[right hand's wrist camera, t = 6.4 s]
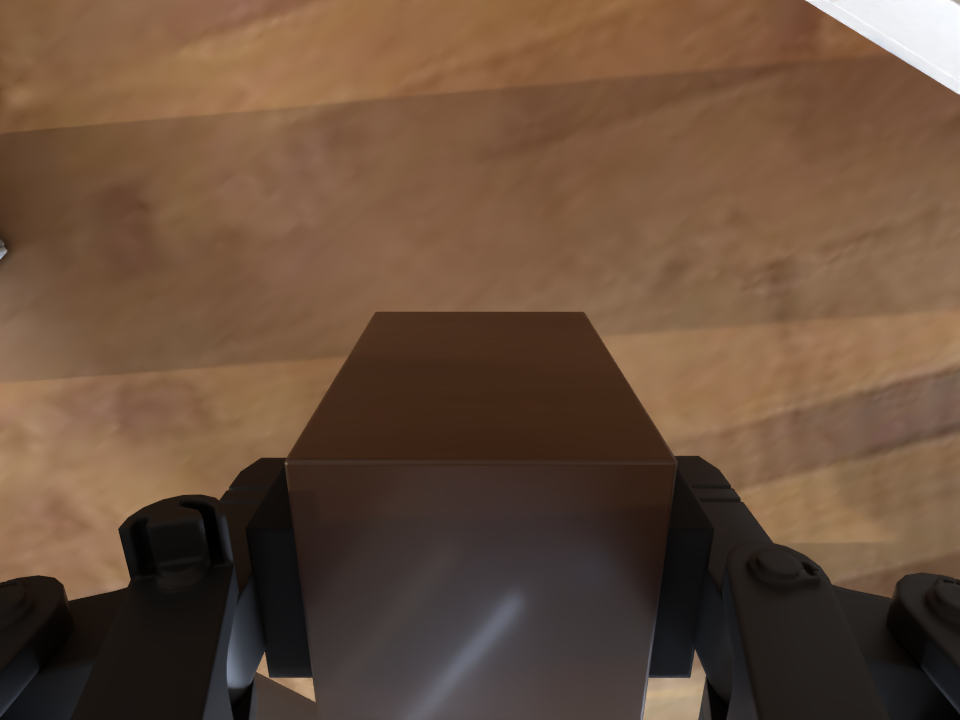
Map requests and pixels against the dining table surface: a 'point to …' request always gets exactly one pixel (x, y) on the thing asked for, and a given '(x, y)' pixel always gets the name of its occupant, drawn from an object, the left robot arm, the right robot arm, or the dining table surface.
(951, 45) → the tray
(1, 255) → the hard drive box
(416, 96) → the dining table surface
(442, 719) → the walnut block
